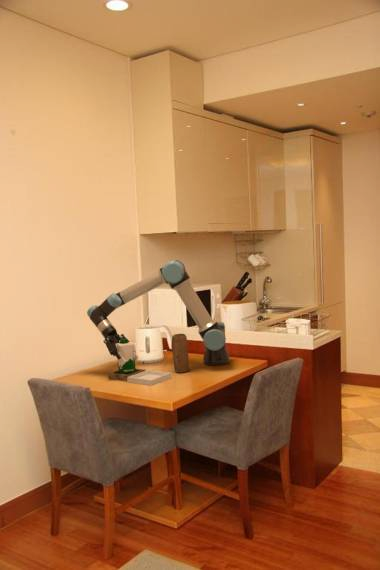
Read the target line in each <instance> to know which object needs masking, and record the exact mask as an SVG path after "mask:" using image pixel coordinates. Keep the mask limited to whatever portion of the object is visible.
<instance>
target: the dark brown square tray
mask: <svg viewBox="0 0 380 570" xmlns="http://www.w3.org/2000/svg"><path fill="white" fill-rule="evenodd" d="M135 369H136V372H135V373H132V374H129V375H125V374H119V370H118V369H117V370H115V371H111V372H108V379H109V380H114V381H122V382H128V381H127V377H129V376H132V375H135V374H138V373H141V372H144V371H147V369H142V368H137V367H135Z"/></svg>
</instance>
